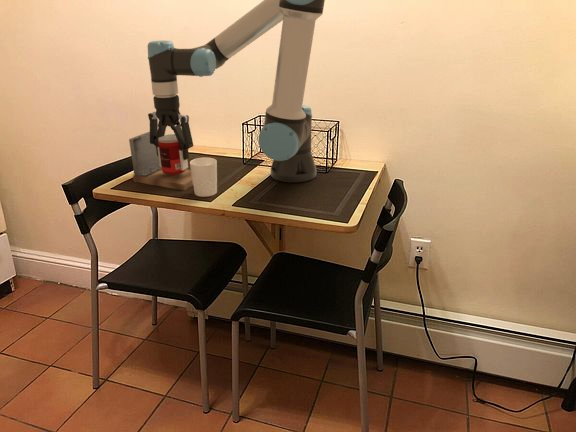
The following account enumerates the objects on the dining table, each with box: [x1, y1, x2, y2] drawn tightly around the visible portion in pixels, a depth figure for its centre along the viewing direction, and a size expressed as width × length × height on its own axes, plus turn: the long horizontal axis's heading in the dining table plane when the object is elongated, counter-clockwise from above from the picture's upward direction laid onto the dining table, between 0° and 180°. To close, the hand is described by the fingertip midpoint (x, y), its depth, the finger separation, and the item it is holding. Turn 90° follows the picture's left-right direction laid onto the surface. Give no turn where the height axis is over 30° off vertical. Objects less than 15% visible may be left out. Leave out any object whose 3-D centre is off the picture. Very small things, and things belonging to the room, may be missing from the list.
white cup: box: [189, 157, 218, 198], centre depth 149 cm, size 8×8×10 cm
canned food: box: [158, 133, 186, 175], centre depth 157 cm, size 8×8×11 cm
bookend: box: [128, 131, 162, 177], centre depth 161 cm, size 5×11×12 cm, turn 155°
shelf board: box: [132, 168, 194, 191], centre depth 161 cm, size 20×12×2 cm, turn 65°
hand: (174, 167), depth 159 cm, fingers closed on canned food, 8 cm apart
